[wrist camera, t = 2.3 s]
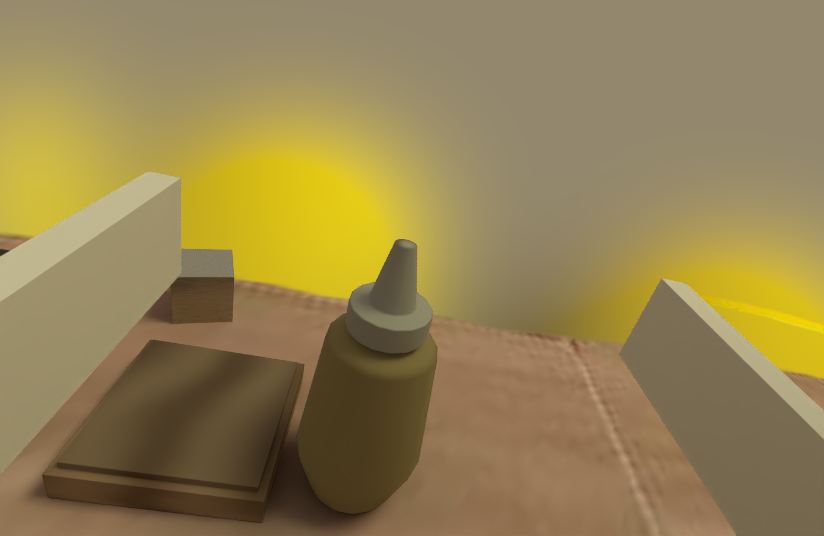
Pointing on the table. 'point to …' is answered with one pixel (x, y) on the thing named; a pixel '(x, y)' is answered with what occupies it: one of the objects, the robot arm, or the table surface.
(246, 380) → the stand
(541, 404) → the table surface
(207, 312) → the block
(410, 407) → the squeeze bottle
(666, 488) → the table surface
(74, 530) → the table surface
